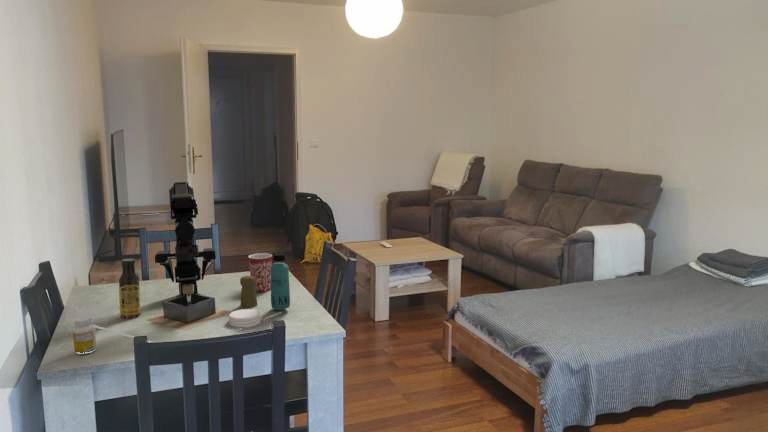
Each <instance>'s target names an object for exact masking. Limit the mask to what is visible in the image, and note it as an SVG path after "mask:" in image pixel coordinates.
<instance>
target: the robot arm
mask: <svg viewBox="0 0 768 432" xmlns="http://www.w3.org/2000/svg"><path fill="white" fill-rule="evenodd" d="M168 193H169V194H168V197H169V205H170V219H171V220H174V233H175V247H174V249H175V250H174V252H173V253H172V252H170V250H159V251H157V252H156V253H155V255H154V263H155V264H159V265H160V266H163V267H164V268H165V269H166V272H167V273H168V275H169V277H170V280H171V282H172V283H174V282H175V284H177V283H178V290H179V291H178V293H179V294H177V295H176V297H180V296H183V295H186V294H183V288H182V287H183V285H186V284H194V294H199V295H201V293H199V292H198V290H199V289H198V284H197V281H198V282H199V281H200V280H202V281H204V278H205V273H206V271H207V270H206V269H207V267H208V265H209V264H210V263H212V262H213V260H216V259H217V249H216V248H214V247H209V248H203V250H202V251H199V245H198V244H196V242H195V231H196V230H195V226H194V219H196V218H197V216H198V215H199V210H198V209H199V208H198V202H197V201H196V199H195V194H194V188H193V187H191V186H190V185H189V182H188V181H176V182H173V186H171V188H169V190H168ZM196 258H202V260H201V261H202V264H201V265H202V266H201V267H200V266H199V264H197V260H196ZM172 260H176V261H175V263H176V264H175V265H176V266H174V269H173V263H172Z"/></svg>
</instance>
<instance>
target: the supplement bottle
mask: <svg viewBox="0 0 768 432" xmlns="http://www.w3.org/2000/svg"><path fill="white" fill-rule="evenodd" d="M91 321H92V320H91V317H89V316H82V317H78V318H75V319H74V327H73V329H72V338H73V349H74V353H75V352H80V353H83V352H84V353H85V352H90V351H93V350H95V349H96V350H97V345H96V336H95V335H96V334H95V326H94V325H93V324H91V323H92V322H91Z"/></svg>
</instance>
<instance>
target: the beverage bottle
mask: <svg viewBox="0 0 768 432" xmlns="http://www.w3.org/2000/svg"><path fill="white" fill-rule="evenodd" d="M272 261H273V262H274V263H271V267H270V275H271V288H270V290H269V291H270V306H271V309H273V310H286V309H289V308H290V307H291V293H290V272H289V270H290V269H289V268H290V267H289V265H288V264H287V263H285V262H284V261H286V254H285V253H284V252H283V253H281V252H279V253H274V254H272Z"/></svg>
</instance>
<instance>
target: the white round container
mask: <svg viewBox="0 0 768 432" xmlns="http://www.w3.org/2000/svg"><path fill="white" fill-rule="evenodd" d="M261 321H262V320H261V312H260V311H259V310H257V309H255V308H254V309H253V308H243V309H237V310H234V311H232V313H230V314H228V324H229V325H230V326H231V327H232V326H233V327H239V328H240V329H248V328H253V327H257V326H258V325H260V324H261Z"/></svg>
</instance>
